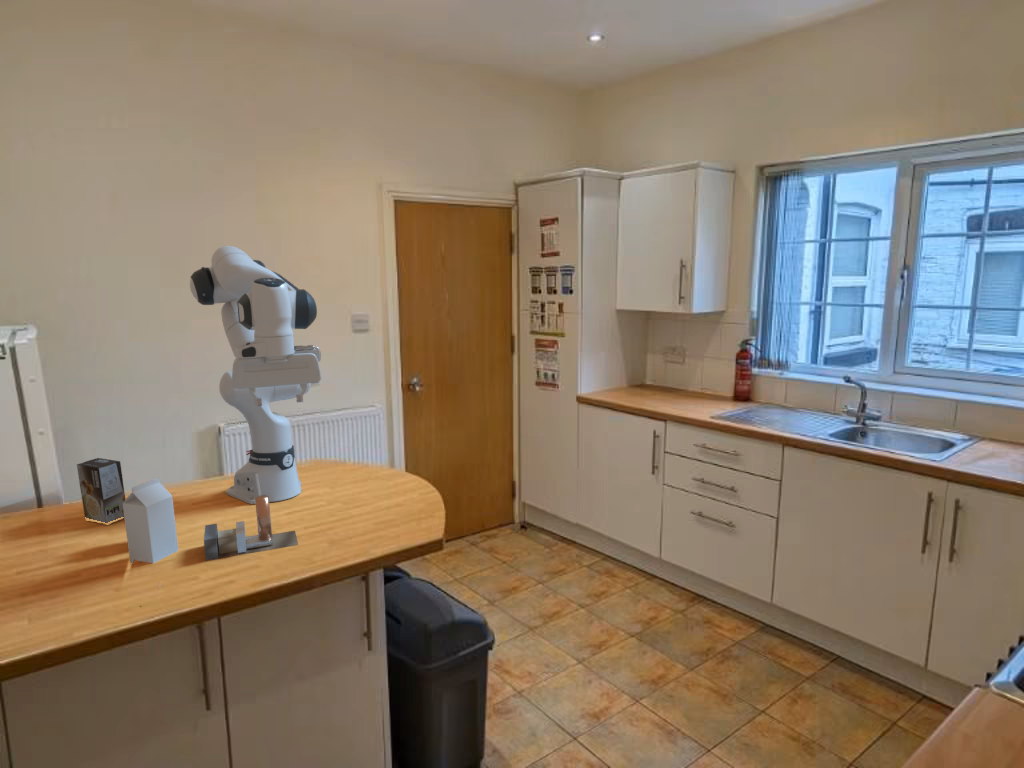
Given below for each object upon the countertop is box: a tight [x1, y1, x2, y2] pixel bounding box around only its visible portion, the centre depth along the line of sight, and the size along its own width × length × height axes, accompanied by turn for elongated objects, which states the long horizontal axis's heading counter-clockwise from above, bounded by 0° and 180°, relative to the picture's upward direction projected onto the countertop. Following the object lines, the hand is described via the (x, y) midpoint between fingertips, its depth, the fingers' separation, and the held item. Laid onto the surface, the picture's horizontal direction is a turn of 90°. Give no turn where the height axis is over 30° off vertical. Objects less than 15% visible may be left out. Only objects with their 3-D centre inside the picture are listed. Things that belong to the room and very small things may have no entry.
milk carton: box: [123, 477, 179, 564], centre depth 147 cm, size 7×7×19 cm
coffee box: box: [76, 457, 126, 523], centre depth 172 cm, size 9×6×16 cm
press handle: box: [235, 495, 273, 553], centre depth 152 cm, size 8×8×11 cm
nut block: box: [218, 528, 238, 554], centre depth 151 cm, size 4×4×4 cm
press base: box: [203, 523, 299, 562], centre depth 153 cm, size 20×9×6 cm, turn 113°
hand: (279, 403), depth 156 cm, fingers open, 8 cm apart
